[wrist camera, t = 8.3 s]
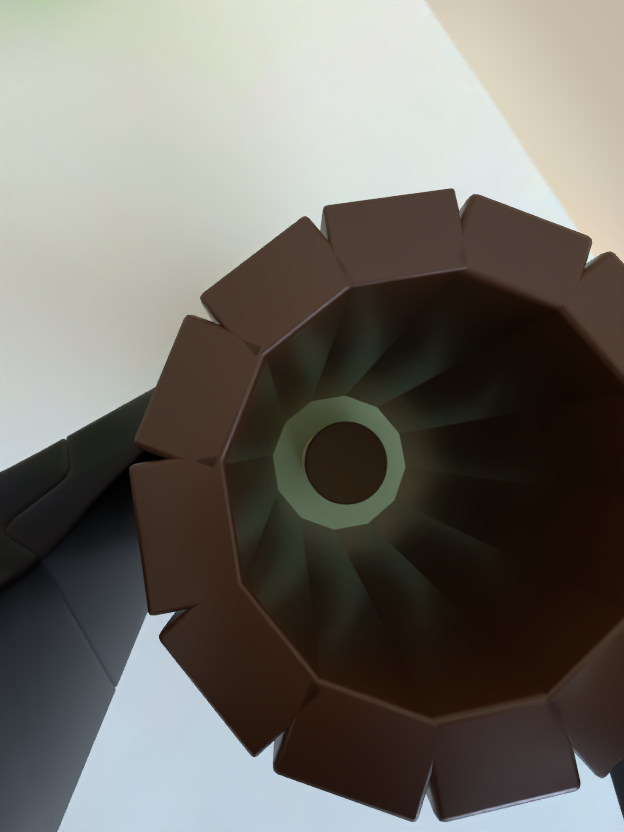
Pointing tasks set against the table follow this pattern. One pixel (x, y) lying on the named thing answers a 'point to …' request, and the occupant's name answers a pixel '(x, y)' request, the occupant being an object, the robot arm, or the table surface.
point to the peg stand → (339, 462)
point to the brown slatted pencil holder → (403, 506)
